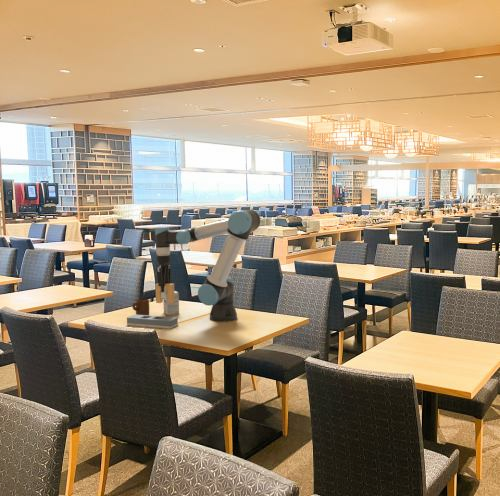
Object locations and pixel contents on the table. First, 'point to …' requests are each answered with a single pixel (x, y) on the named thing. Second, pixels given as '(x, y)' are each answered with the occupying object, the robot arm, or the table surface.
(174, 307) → the supplement box
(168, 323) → the rail
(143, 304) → the mug
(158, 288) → the tall wooden block
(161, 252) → the robot arm
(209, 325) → the table surface
